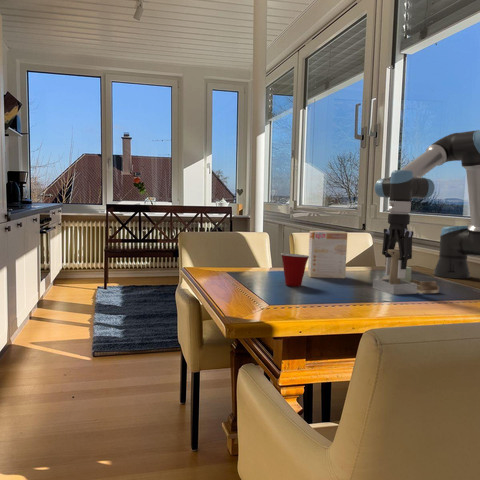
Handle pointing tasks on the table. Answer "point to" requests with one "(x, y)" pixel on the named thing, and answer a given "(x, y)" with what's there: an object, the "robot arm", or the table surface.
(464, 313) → the table surface
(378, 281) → the winch housing
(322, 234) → the coffeecake box
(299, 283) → the plastic cup
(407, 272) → the pale green cube
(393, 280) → the handle
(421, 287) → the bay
